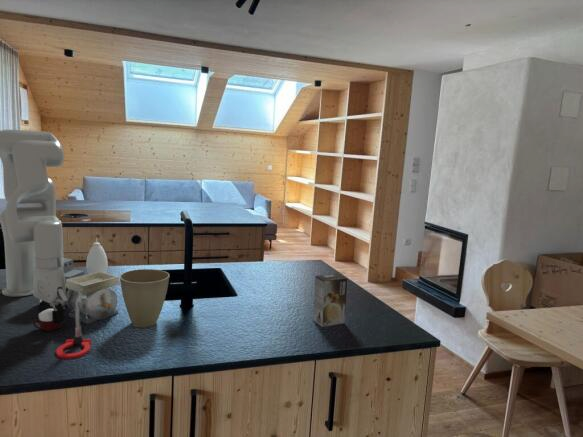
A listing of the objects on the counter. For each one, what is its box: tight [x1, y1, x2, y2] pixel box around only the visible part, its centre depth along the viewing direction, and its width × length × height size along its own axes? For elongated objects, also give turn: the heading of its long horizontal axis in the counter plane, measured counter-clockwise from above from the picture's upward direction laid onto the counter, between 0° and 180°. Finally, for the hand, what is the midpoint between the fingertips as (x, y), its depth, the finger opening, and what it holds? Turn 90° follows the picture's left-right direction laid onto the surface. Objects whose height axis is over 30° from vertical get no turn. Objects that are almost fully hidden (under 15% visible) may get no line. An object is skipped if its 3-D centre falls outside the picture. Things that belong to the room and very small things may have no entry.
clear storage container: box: [65, 271, 121, 325], centre depth 144 cm, size 16×13×13 cm
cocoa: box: [32, 287, 68, 332], centre depth 132 cm, size 10×6×12 cm, turn 108°
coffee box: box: [312, 273, 348, 328], centre depth 148 cm, size 9×6×16 cm
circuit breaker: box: [47, 257, 86, 307], centre depth 153 cm, size 8×14×15 cm, turn 78°
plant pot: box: [119, 268, 171, 329], centre depth 139 cm, size 15×15×16 cm
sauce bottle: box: [85, 236, 109, 274], centre depth 179 cm, size 8×8×18 cm
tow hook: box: [55, 301, 93, 360], centre depth 119 cm, size 8×13×9 cm
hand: (51, 318), depth 133 cm, fingers closed on cocoa, 6 cm apart
